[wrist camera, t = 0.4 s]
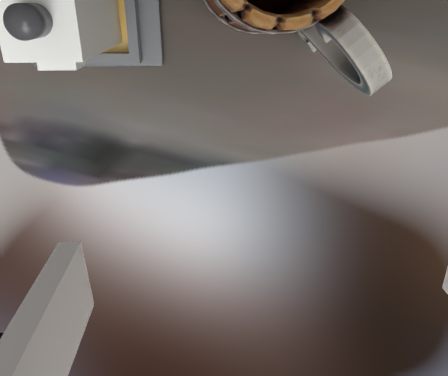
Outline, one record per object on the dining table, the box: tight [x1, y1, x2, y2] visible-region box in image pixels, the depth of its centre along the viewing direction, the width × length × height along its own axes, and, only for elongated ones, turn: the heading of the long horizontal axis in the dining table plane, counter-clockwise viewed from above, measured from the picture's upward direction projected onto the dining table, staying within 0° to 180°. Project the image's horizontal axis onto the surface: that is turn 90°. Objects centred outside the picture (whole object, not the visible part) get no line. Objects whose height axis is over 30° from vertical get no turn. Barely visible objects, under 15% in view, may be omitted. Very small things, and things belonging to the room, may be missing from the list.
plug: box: [0, 0, 122, 70], centre depth 28 cm, size 5×4×14 cm
